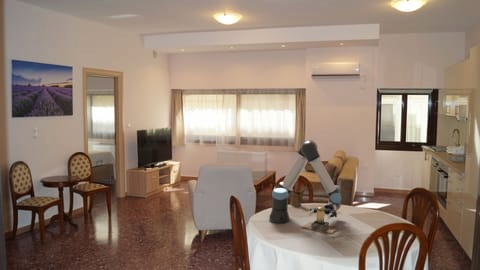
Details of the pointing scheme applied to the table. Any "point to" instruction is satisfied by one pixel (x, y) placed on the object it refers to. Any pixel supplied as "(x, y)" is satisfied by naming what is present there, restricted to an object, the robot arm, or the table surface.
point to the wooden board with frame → (320, 227)
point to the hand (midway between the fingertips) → (318, 215)
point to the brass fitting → (320, 215)
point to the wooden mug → (296, 197)
